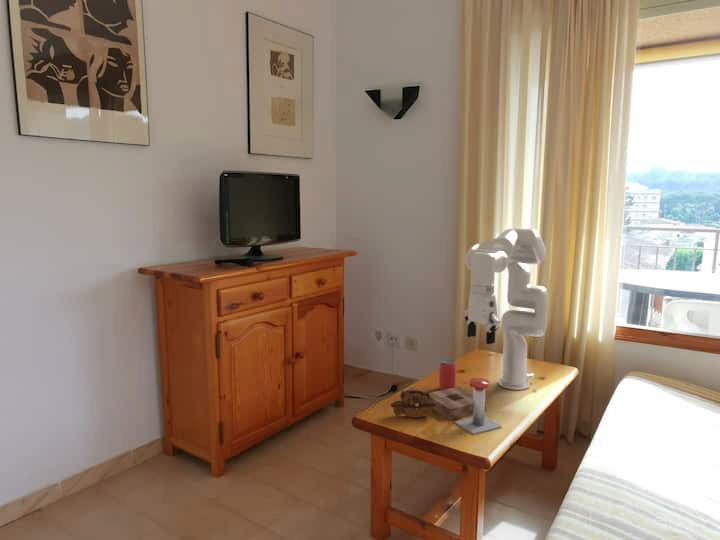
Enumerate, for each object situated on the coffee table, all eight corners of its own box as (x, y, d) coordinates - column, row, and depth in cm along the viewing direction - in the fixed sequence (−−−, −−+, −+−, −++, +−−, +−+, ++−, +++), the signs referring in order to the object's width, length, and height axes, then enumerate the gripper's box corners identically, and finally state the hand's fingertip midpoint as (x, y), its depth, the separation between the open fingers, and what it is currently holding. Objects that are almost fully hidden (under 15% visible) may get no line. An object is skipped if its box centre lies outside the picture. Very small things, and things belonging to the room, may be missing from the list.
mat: (482, 416, 184) (482, 415, 184) (501, 427, 176) (501, 426, 176) (455, 423, 179) (455, 421, 179) (473, 434, 170) (473, 433, 170)
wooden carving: (391, 420, 182) (392, 393, 180) (390, 415, 186) (390, 388, 185) (437, 418, 183) (438, 391, 182) (435, 413, 188) (435, 387, 186)
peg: (479, 418, 182) (480, 376, 180) (492, 425, 176) (494, 382, 174) (464, 421, 179) (465, 379, 177) (476, 429, 173) (478, 386, 171)
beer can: (455, 393, 206) (455, 364, 205) (438, 392, 208) (439, 363, 206) (455, 387, 213) (456, 359, 211) (439, 386, 214) (439, 358, 212)
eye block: (459, 396, 203) (459, 386, 203) (485, 411, 189) (486, 401, 188) (425, 403, 196) (425, 393, 196) (450, 419, 182) (450, 409, 181)
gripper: (509, 293, 165) (507, 345, 167) (474, 284, 180) (473, 332, 183) (490, 295, 162) (489, 348, 164) (457, 286, 177) (456, 335, 179)
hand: (480, 339), depth 173 cm, fingers open, 9 cm apart
